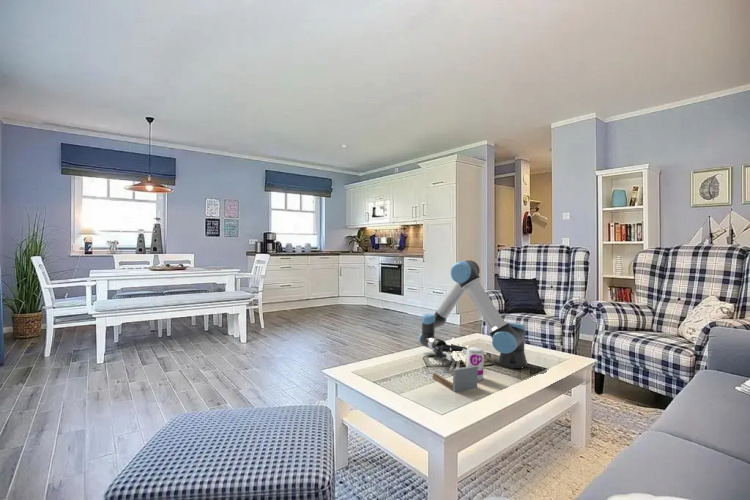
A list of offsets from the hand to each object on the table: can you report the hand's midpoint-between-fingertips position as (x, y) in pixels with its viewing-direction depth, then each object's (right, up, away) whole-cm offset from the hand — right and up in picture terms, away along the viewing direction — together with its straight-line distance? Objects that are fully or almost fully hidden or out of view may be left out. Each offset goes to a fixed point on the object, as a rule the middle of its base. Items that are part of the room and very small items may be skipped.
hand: (461, 356), depth 199 cm
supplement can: (+4, -9, -9) cm, 13 cm away
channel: (-7, -9, -15) cm, 19 cm away
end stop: (-3, -9, -23) cm, 25 cm away
